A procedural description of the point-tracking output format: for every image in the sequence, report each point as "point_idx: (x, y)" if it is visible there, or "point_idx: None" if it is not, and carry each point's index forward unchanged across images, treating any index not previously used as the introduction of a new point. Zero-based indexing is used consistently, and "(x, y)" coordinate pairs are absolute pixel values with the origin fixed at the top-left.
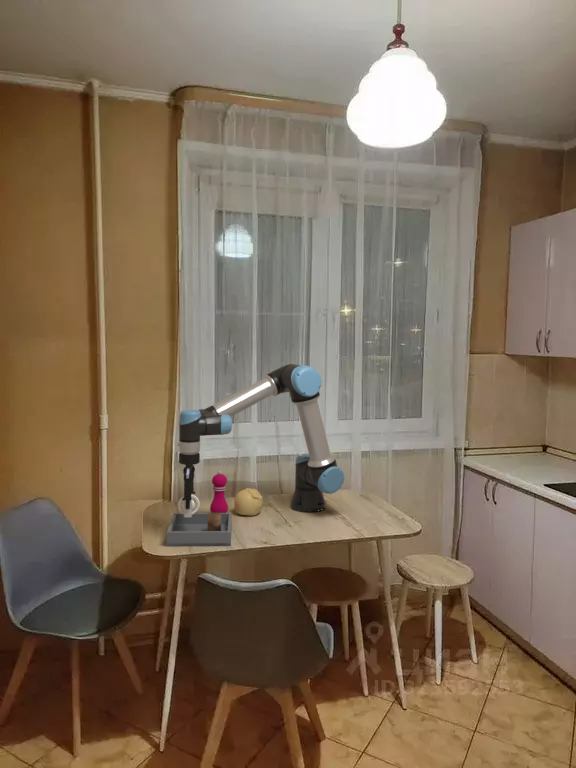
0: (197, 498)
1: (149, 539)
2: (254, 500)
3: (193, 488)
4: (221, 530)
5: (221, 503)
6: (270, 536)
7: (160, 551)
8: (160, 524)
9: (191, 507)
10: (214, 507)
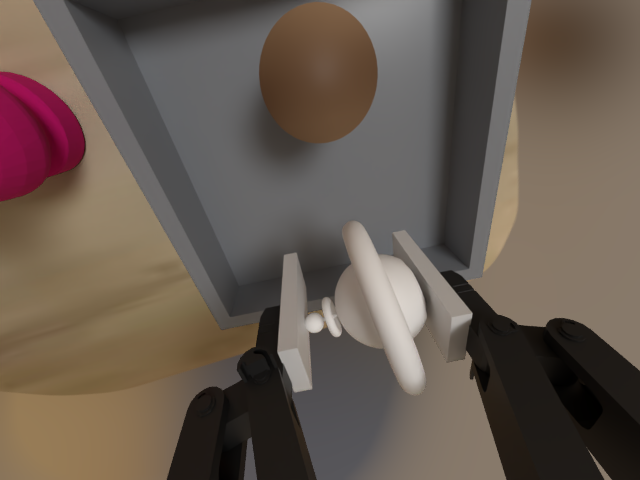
0: (386, 284)
1: None
2: None
3: (203, 414)
4: (262, 44)
5: None
6: None
7: (493, 248)
8: (237, 327)
9: (433, 267)
10: (15, 162)
